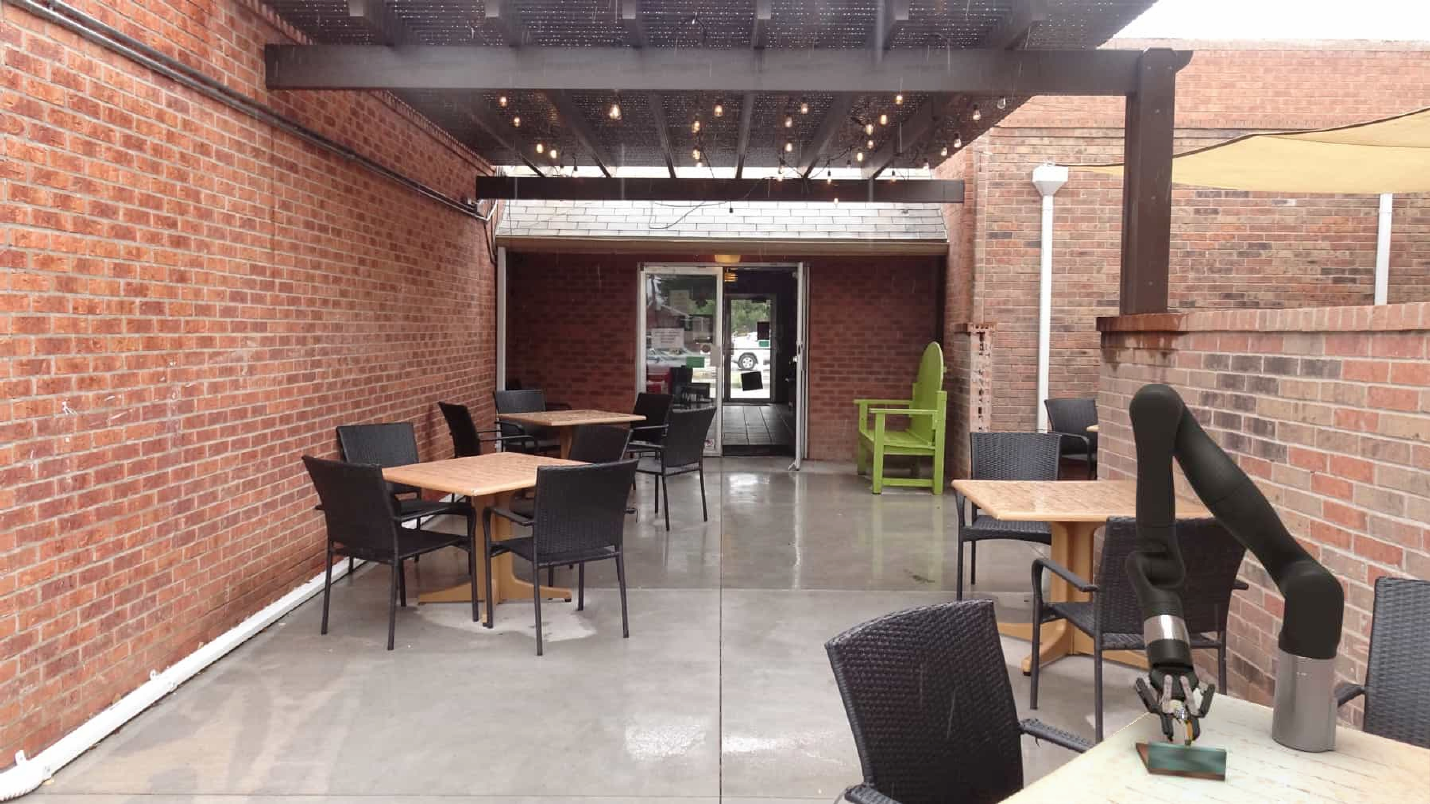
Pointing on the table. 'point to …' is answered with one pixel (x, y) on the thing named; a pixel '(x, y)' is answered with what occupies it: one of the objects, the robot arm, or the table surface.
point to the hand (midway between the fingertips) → (1182, 737)
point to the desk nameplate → (1183, 760)
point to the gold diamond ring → (1187, 729)
